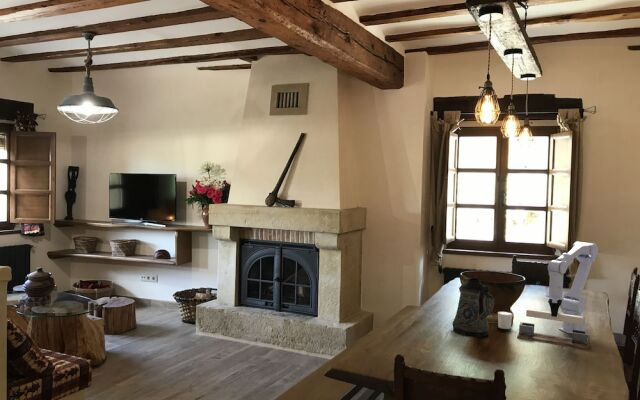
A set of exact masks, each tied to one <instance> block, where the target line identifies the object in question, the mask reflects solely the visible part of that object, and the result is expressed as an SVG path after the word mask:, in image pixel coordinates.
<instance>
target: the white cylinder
mask: <svg viewBox="0 0 640 400" xmlns="http://www.w3.org/2000/svg"><path fill="white" fill-rule="evenodd" d="M512 320H513V313H511V312H508V311H498V312H497V322H498V323H497V325H498V328H499V329H503V330H510V329H511V327H512Z"/></svg>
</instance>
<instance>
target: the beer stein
mask: <svg viewBox="0 0 640 400" xmlns="http://www.w3.org/2000/svg"><path fill="white" fill-rule="evenodd" d="M458 289H459V291H458V292H459V293H460V295H459V298H458V299H459V300H458V303H457V304H458V305H457V310H456V313H455V317H454V319H453V320H452V324H451V325H452V330H453V332H454V333H455V334H457V335H460V336H465V337H471V338H484V337H486V336H487V335H489V330H490V326H489V323H488V317H489V316H490V314H491V313H492V312H493V310H494V306H495V299H494V296H493V294H492V293H491V292H489V287H488V286H487V285H486V284H483V283H481V280H480V279H479V278H474V277H473V278H472V277H471V278H468V280H467V281H466V282H465V283H462V284H461V285H460V286H459V287H458ZM486 302H487V303H486ZM486 304H487V306H486Z"/></svg>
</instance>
